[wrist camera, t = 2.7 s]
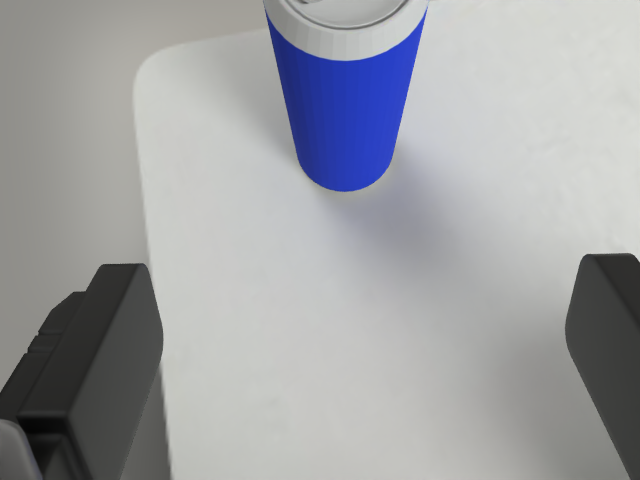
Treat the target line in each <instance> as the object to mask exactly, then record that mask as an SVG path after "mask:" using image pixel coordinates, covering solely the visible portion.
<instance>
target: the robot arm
mask: <svg viewBox="0 0 640 480" xmlns="http://www.w3.org/2000/svg"><path fill="white" fill-rule="evenodd" d="M38 332H39V334H38V336H35V338H34V339H33V341H32V342H31V344H30V346H29V347H28V352H27V353H25V354H24V355H23V357H22V358H21V360H20V362H19V363H18V365H17V366H16V368H15V370H14V371H13V373H12V375H11V376H10V378H9V380H8V381H7V383H6V384H5V386H4V387H3V389H2V391H1V392H0V480H120V477H121V474H122V471H123V468H124V465H125V462H126V460H127V457H128V454H129V451H130V447H131V445H132V442H133V439H134V436H135V433H136V430H137V427H138V424H139V421H140V418H141V416H142V412H143V410H144V407H145V404H146V401H147V398H148V395H149V392H150V389H151V386H152V383H153V380H154V377H155V374H156V371H157V368H158V366H159V363H160V360H161V356H162V351H163V328H162V323H161V319H160V315H159V311H158V306H157V302H156V298H155V294H154V290H153V286H152V282H151V278H150V274H149V271H148V268H147V267H146V265H145V264H143V263H140V264H139V263H138V264H103V265H101V266H100V267H99V269H98V271H97V272H96V274H95V276H94V277H93V279H92V281H91V283H90V285H89V286H88V288H87V290H86V291H84V292H73V293H72V294H70V295H69V296H68V297H67V298H66V299H64V300H63V301H62V302H61V303H60V304H58V305H57V306H56V307H55V308H53V309H52V310H51V312H50V313H49V315H48V317H47V318H46V320H45V322H44V323H43V325H42V326H41V328H40V329H39V331H38ZM565 334H566V342H567V346H568V350H569V352H570V355H571V357H572V359H573V361H574V363H575V365H576V367H577V369H578V371H579V373H580V376H581V378H582V380H583V382H584V384H585V386H586V388H587V390H588V392H589V394H590V396H591V398H592V400H593V402H594V405H595V407H596V409H597V411H598V413H599V415H600V417H601V419H602V421H603V423H604V425H605V427H606V429H607V432H608V434H609V436H610V438H611V440H612V442H613V444H614V446H615V448H616V450H617V452H618V454H619V456H620V458H621V461H622V463H623V465H624V467H625V469H626V471H627V473H628V475H629V477H630V479H631V480H640V262H639V261H638V259H637V258H636V257H635V256H634V255H632V254H630V253H618V254H587V255H585V256H584V257H583V258H582V260H581V262H580V265H579V269H578V273H577V277H576V281H575V285H574V289H573V293H572V297H571V301H570V305H569V309H568V313H567V317H566V324H565Z"/></svg>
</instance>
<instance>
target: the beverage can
mask: <svg viewBox="0 0 640 480" xmlns="http://www.w3.org/2000/svg"><path fill="white" fill-rule="evenodd" d="M263 3H264V7H265V12H266V17H267V21H268V26H269V30H270V35H271V39H272V44H273V48H274V53H275V57H276V62H277V67H278V71H279V76H280V80H281V85H282V89H283V94H284V98H285V103H286V107H287V112H288V116H289V121H290V125H291V130H292V135H293V139H294V144H295V148H296V153H297V157H298V160H299V163H300V165H301V167H302V169H303V170H304V172H305V173H306V174H307V175H308V176H309V178H311V179H312V180H313V181H314V182H315V183H317V184H319V185H320V186H322V187H325V188H327V189H330V190H334V191H342V192H348V191H355V190H359V189H362V188H365V187H367V186H369V185H371V184H372V183H374V182H375V181H376V180H378V179H379V178H380V177H381V176H382V175H383V174H384V172H385V171H386V169H387V168H388V166H389V164H390V162H391V159H392V156H393V152H394V147H395V143H396V139H397V135H398V130H399V126H400V122H401V118H402V113H403V109H404V105H405V101H406V97H407V92H408V88H409V84H410V80H411V75H412V71H413V67H414V63H415V58H416V54H417V50H418V46H419V42H420V37H421V33H422V29H423V25H424V20H425V16H426V12H427V8H428V3H429V0H263Z"/></svg>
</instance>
